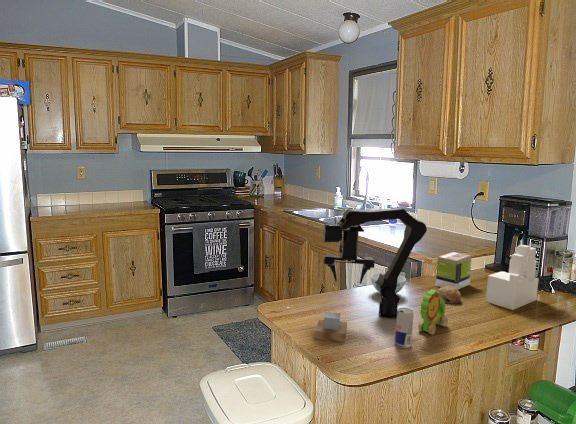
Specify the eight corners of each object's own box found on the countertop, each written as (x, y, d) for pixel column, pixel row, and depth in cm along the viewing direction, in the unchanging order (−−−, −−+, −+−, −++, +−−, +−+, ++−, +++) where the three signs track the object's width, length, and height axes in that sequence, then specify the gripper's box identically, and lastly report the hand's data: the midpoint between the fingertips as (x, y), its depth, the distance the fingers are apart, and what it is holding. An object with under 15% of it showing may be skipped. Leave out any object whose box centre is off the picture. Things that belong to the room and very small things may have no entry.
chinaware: (392, 287, 211) (393, 271, 210) (411, 298, 197) (412, 281, 196) (363, 290, 205) (364, 274, 204) (381, 301, 192) (382, 284, 190)
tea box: (450, 280, 226) (453, 251, 223) (470, 285, 218) (472, 255, 216) (434, 286, 215) (437, 255, 213) (454, 291, 208) (457, 260, 206)
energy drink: (392, 341, 153) (394, 307, 151) (407, 341, 154) (410, 307, 152) (397, 348, 148) (400, 313, 146) (413, 348, 149) (416, 313, 147)
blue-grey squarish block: (339, 324, 159) (340, 313, 158) (338, 330, 154) (338, 318, 153) (325, 322, 160) (325, 312, 159) (323, 328, 155) (324, 317, 154)
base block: (346, 330, 161) (347, 322, 161) (344, 342, 151) (345, 333, 151) (318, 327, 163) (318, 319, 163) (314, 339, 153) (315, 330, 153)
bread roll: (434, 308, 197) (435, 294, 192) (437, 292, 204) (438, 278, 200) (459, 311, 193) (460, 298, 189) (460, 295, 201) (462, 281, 197)
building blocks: (512, 310, 187) (519, 250, 183) (485, 301, 196) (491, 245, 192) (536, 300, 200) (542, 244, 196) (509, 292, 209) (515, 239, 205)
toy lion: (434, 321, 172) (437, 282, 170) (448, 325, 168) (451, 286, 166) (414, 333, 161) (417, 292, 158) (428, 338, 157) (432, 296, 154)
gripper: (375, 239, 178) (373, 278, 180) (327, 236, 181) (326, 274, 183) (375, 246, 167) (373, 287, 169) (324, 242, 170) (323, 282, 172)
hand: (348, 282), depth 174 cm, fingers open, 9 cm apart
